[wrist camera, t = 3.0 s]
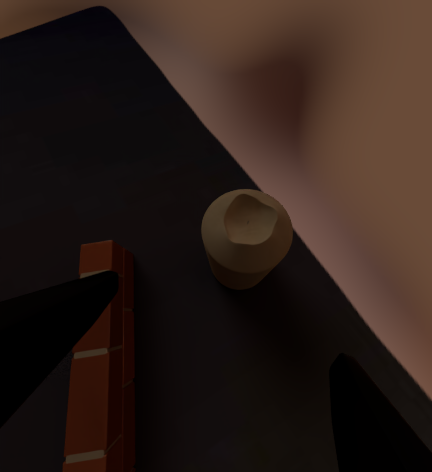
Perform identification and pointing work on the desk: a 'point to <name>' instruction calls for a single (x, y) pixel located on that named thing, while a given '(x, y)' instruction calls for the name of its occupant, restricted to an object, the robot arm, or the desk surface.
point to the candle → (245, 237)
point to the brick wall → (104, 374)
